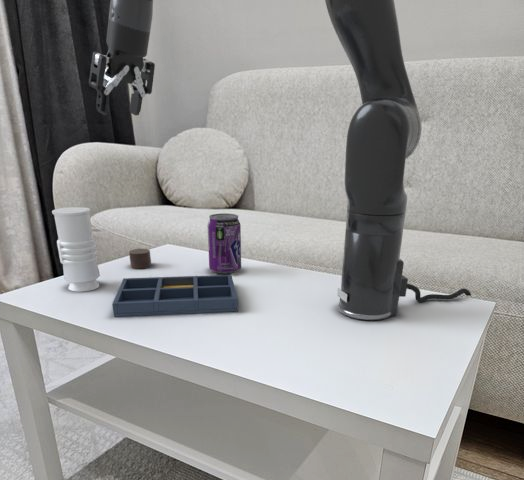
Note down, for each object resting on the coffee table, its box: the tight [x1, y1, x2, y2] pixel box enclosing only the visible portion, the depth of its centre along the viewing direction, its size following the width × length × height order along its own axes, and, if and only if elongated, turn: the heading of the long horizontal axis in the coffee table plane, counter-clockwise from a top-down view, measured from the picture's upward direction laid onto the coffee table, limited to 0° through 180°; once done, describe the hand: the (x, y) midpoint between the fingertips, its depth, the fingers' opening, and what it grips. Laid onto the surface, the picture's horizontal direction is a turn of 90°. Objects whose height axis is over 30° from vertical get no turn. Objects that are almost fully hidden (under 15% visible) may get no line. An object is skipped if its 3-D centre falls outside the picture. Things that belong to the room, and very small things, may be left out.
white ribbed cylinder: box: [51, 206, 101, 293], centre depth 92 cm, size 7×7×15 cm
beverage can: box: [207, 213, 242, 275], centre depth 103 cm, size 7×7×12 cm
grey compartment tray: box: [111, 274, 239, 318], centre depth 88 cm, size 21×14×2 cm
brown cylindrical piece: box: [128, 248, 152, 270], centre depth 108 cm, size 5×5×4 cm
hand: (118, 113), depth 97 cm, fingers open, 8 cm apart
